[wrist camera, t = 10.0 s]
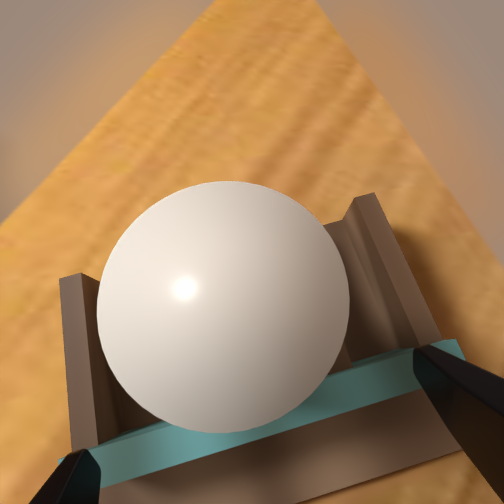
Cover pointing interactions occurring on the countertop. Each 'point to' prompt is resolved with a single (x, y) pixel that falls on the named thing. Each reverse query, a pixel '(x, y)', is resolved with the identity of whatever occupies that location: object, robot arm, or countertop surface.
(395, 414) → the comb rack
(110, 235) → the countertop surface
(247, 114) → the countertop surface
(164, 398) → the white cylinder
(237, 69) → the countertop surface
